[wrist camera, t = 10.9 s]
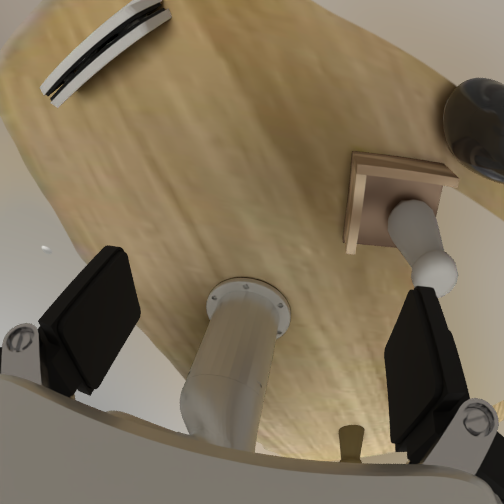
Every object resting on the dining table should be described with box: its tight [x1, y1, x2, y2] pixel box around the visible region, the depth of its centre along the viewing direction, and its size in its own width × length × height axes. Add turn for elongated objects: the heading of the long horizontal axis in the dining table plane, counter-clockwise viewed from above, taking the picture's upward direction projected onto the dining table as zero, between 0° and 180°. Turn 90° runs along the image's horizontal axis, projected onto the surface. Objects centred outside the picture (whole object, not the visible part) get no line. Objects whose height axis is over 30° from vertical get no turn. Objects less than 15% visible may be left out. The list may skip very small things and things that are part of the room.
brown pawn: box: [339, 425, 364, 463], centre depth 59 cm, size 6×6×11 cm
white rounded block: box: [40, 0, 172, 108], centre depth 27 cm, size 17×5×10 cm, turn 116°
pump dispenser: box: [443, 78, 504, 184], centre depth 21 cm, size 10×10×15 cm
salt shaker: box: [388, 199, 458, 298], centre depth 29 cm, size 6×6×13 cm
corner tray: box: [343, 151, 459, 254], centre depth 33 cm, size 11×11×5 cm
